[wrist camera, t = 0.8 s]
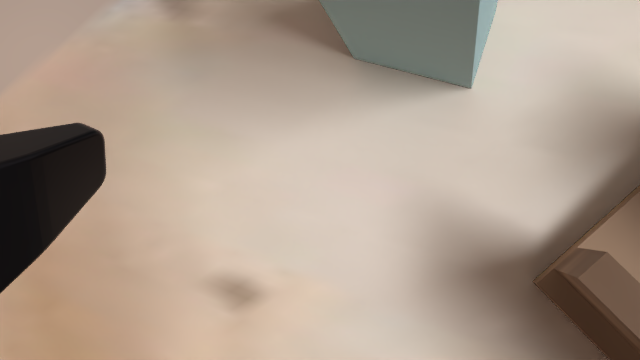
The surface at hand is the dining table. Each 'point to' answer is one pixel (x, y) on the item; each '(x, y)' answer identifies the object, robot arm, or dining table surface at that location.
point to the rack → (603, 281)
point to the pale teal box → (416, 34)
